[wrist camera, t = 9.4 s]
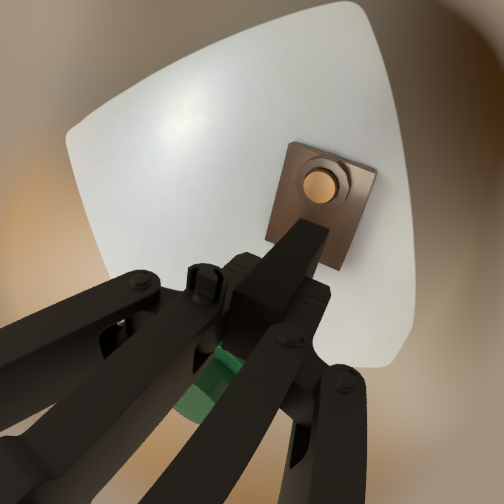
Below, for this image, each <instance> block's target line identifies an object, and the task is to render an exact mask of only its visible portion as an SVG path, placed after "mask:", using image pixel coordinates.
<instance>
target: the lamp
mask: <svg viewBox="0 0 504 504" xmlns="http://www.w3.org/2000/svg"><path fill="white" fill-rule="evenodd" d="M222 341H223V340H222ZM222 341H221V342H220V343H219V345H218V346H217V347H216V350H215V355H214V357H213V359H212V360H211V362H210V363H209V364H208V365H207V366H206V368H205V369H204V370H203V371H202V373H201V374H200V375H199V376H198V378H197V379H196V380H195V381H194V382H193V384H192V385H191V386H190V387H189V389H188V390H187V391H186V392H185V393H184V395H183V396H182V397H181V398H180V399H179V401H178V402H177V403H176V404H175V405H174V407H173V408H174V409H175V410H176V411H177V412H178V413H180V414H181V415H183V416H184V417H186V418H188V419H189V420H191V421H193V422H195V423H197V424H201V423H202V422H203V420H204V419H205V417H206V416H207V415H208V413H209V412H210V411H211V409H212V408H213V407H214V405H215V404H216V402H217V401H218V400H219V398H220V397H221V396H222V394H223V393H224V391H225V390H226V389H227V387H228V386H229V384H230V383H231V382H232V380H233V379H234V377H235V376H236V374H237V373H238V372H239V370H240V369H241V367H242V366H243V364H244V363H245V362H246V361H244V360H242V359H240V358H238V357H236V356H234V355H232V354H230V353H228V352H226V351H224V350H223V349H221V346H222Z"/></svg>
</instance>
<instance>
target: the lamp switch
mask: <svg viewBox="0 0 504 504" xmlns="http://www.w3.org/2000/svg"><path fill="white" fill-rule="evenodd" d="M303 187H304V192H305V194H306V196H307V197H308V198H309V199H310V200H312V201H313V202H316V203H325V202H327V201H329V200H330V199H331V198H332V197H333V196H334V195H335V193H336V191H337V187H338V184H337V180H336V178H335V176H334V175H333V174H332V173H331V172H330V171H328V170H325V169H318V170H315V171H313V172H312V173H310V174H309V175H308V176H307V177H306V178H305V180H304V185H303Z"/></svg>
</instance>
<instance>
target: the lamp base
mask: <svg viewBox="0 0 504 504" xmlns="http://www.w3.org/2000/svg"><path fill="white" fill-rule="evenodd" d="M318 169H325V170H328V171H330V172H331V173H332V174H333V175H334V176H335V178H336V180H337V184H338V187H337V191H336V193H335V195H334V196H333V197H332V198H331V199H330V200H329V201H327V202H325V203H316V202H313V201H312V200H310V199H309V198H308V197H307V196H306V194H305V192H304V187H303V185H304V180H305V178H306V177H307V176H308V175H309V174H310V173H312V172H313V171H315V170H318ZM376 173H377V171H376V170H373V169H370V168H368V167H365V166H363V165H360V164H357V163H355V162H352V161H349V160H347V159H344V158H341V157H338V156H335V155H333V154H330V153H327V152H324V151H321V150H318V149H315V148H312V147H309V146H306V145H302V144H299V143H296V142H292V143H289V145H288V149H287V153H286V157H285V161H284V165H283V169H282V173H281V177H280V181H279V185H278V189H277V193H276V197H275V201H274V205H273V209H272V213H271V217H270V221H269V225H268V229H267V233H266V237H265V240H266V241H269V242H271V243H274V244H276V243H277V242H278V241H279V240H280V239H281V238H282V237H283V236H284V235H285V234H286V233H287V231H288V230H289V229H290V228H291V227H292V226H293V225H294V224H295V223H296V222H297V221H298V220H299V219H300V218H303V219H305V220H308V221H310V222H313V223H315V224H318V225H320V226H323V227H325V228H328V229H330V232H329V234H328V237H327V240H326V243H325V246H324V248H323V251H322V254H321V257H320V259H319V263H321V264H324V265H326V266H329V267H331V268H333V269H336V270H338V271H340V268H341V266H342V263H343V261H344V259H345V256H346V254H347V251H348V249H349V246H350V244H351V241H352V239H353V236H354V233H355V231H356V228H357V226H358V223H359V220H360V218H361V215H362V212H363V210H364V207H365V204H366V201H367V199H368V196H369V193H370V190H371V187H372V184H373V182H374V179H375V176H376Z"/></svg>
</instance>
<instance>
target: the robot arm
mask: <svg viewBox="0 0 504 504" xmlns="http://www.w3.org/2000/svg"><path fill="white" fill-rule="evenodd" d="M329 232H330V229H328V228H325V227H323V226H320V225H318V224H315V223H313V222H310V221H308V220H305V219H303V218H300V219H299V220H298V221H297V222H296V223H295V224H294V225H293V226H292V227H291V228H290V229H289V230H288V231H287V233H286V234H285V235H284V236H283V237H282V238H281V239H280V240H279V241H278V242H277V243H276V244H275V245H274V247H273V248H272V249H271V250H270V251H269V252H268V253H267V254H266V255H265V256H264V257H263V258H260V257H258V256H256V255H253V254H251V253H249V252H245V253H242V254H239V255H236V256H235V257H234V258H233V259H232V260H231V261H230V262H229V263H227V264H226V265H225V266H224V268H222V269H221V268H220V267H218V266H215V265H212V264H206V263H200V264H194V265H192V266H190V267H188V274H187V285H186V289H185V290H184V291H177V290H173V289H169V288H165V287H161V283H160V279H159V277H158V276H157V275H156V274H154V273H153V272H151V271H147V270H134V271H131V272H128V273H125V274H123V275H121V276H118V277H116V278H114V279H111V280H109V281H107V282H104V283H102V284H100V285H97V286H95V287H92V288H90V289H88V290H85V291H83V292H81V293H79V294H76V295H74V296H72V297H69V298H67V299H65V300H62V301H60V302H58V303H56V304H54V305H51V306H49V307H47V308H44V309H42V310H40V311H38V312H36V313H33V314H31V315H29V316H27V317H24V318H22V319H20V320H18V321H16V322H13V323H11V324H9V325H7V326H5V327H3V328H0V432H1V431H3V430H5V429H7V428H9V427H11V426H13V425H15V424H17V423H19V422H21V421H23V420H24V419H27V418H28V417H30V416H32V415H34V414H36V413H38V412H40V411H41V410H43V409H45V408H47V407H49V406H51V405H53V404H55V403H56V404H55V405H54V406H53V407H52V408H50V409H49V410H48V411H47V412H46V413H45V414H44V415H43V416H42V417H41V418H39V419H38V420H37V421H36V422H35V423H34V424H33V425H32V426H31V427H30V428H29V429H28V430H26V431H25V432H24V433H23V434H21V435H19V436H3V437H0V504H90V503H91V501H92V500H93V498H94V497H95V496H96V495H97V494H98V493H99V492H100V490H101V489H102V488H103V487H104V486H105V485H106V484H107V483H108V482H109V481H110V480H111V478H112V477H113V476H114V475H115V474H116V473H117V472H118V471H119V469H120V468H121V467H122V466H123V465H124V464H125V463H126V462H127V460H128V459H129V458H130V457H131V456H132V455H133V453H134V452H135V451H136V450H137V449H138V448H139V447H140V446H141V444H142V443H143V442H144V441H145V440H146V438H147V437H148V436H149V435H150V434H151V433H152V432H153V430H154V429H155V428H156V427H157V426H158V425H159V423H160V422H161V421H162V420H163V418H164V417H165V416H166V415H167V414H168V413H169V411H170V410H171V409H172V408H173V407H174V405H175V404H176V403H177V402H178V401H179V399H180V398H181V397H182V396H183V395H184V393H185V392H186V391H187V390H188V389H189V387H190V386H191V385H192V384H193V382H194V381H195V380H196V379H197V378H198V376H199V375H200V374H201V373H202V371H203V370H204V369H205V368H206V366H207V365H208V364H209V363H210V362H211V360H212V359H213V357H214V355H215V350H216V347H217V346H218V345H219V343H220V342H221V341H222V340H223V341H222V346H221V349H223V350H224V351H226V352H228V353H230V354H232V355H234V356H236V357H238V358H240V359H242V360H244V361H246V362H245V363H244V364H243V366H242V367H241V369H240V370H239V372H238V373H237V374H236V376H235V377H234V379H233V380H232V382H231V383H230V384H229V386H228V387H227V389H226V390H225V391H224V393H223V394H222V396H221V397H220V398H219V400H218V401H217V402H216V404H215V405H214V407H213V408H212V409H211V411H210V412H209V413H208V415H207V416H206V417H205V419H204V420H203V422H202V423H201V424H200V426H199V427H198V428H197V430H196V431H195V432H194V434H193V435H192V436H191V437H190V439H189V440H188V441H187V443H186V444H185V445H184V447H183V448H182V449H181V451H180V452H179V453H178V455H177V456H176V457H175V458H174V460H173V461H172V462H171V463H170V465H169V466H168V467H167V468H166V470H165V471H164V472H163V473H162V475H161V476H160V477H159V478H158V480H157V481H156V482H155V483H154V485H153V486H152V487H151V488H150V489H149V491H148V492H147V493H146V494H145V496H144V497H143V498H142V499H141V500H140V502H139V503H138V504H223V503H224V501H225V500H226V499H227V497H228V495H229V494H230V492H231V491H232V489H233V487H234V486H235V484H236V483H237V481H238V479H239V478H240V476H241V474H242V473H243V471H244V469H245V468H246V466H247V465H248V463H249V461H250V460H251V458H252V456H253V454H254V453H255V451H256V449H257V447H258V446H259V444H260V442H261V440H262V439H263V437H264V435H265V433H266V431H267V430H268V428H269V426H270V424H271V422H272V420H273V419H274V417H275V415H276V413H277V411H278V409H279V408H280V409H282V411H284V412H285V413H286V414H287V415H288V416H289V417H291V418H292V419H293V424H292V431H291V436H290V442H289V447H288V454H287V459H286V464H285V470H284V474H283V480H282V485H281V490H280V495H279V500H278V504H365V491H366V468H367V399H366V385H365V381H364V378H363V377H362V376H361V374H360V373H359V372H358V371H357V370H355V369H354V368H353V367H350V366H347V365H345V364H335V365H332V366H329V365H328V364H326V363H325V362H324V361H323V360H322V359H321V358H319V357H318V355H317V354H316V352H315V351H314V348H313V342H312V341H313V337H314V334H315V332H316V330H317V328H318V326H319V323H320V321H321V319H322V316H323V314H324V312H325V309H326V307H327V305H328V302H329V300H330V297H331V292H330V287H329V286H328V285H325V284H323V283H321V282H318V281H316V280H314V279H312V278H313V275H314V273H315V270H316V267H317V265H318V262H319V259H320V257H321V254H322V251H323V248H324V246H325V243H326V240H327V237H328V234H329ZM122 320H124V322H122V323H118V322H120V321H122Z"/></svg>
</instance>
